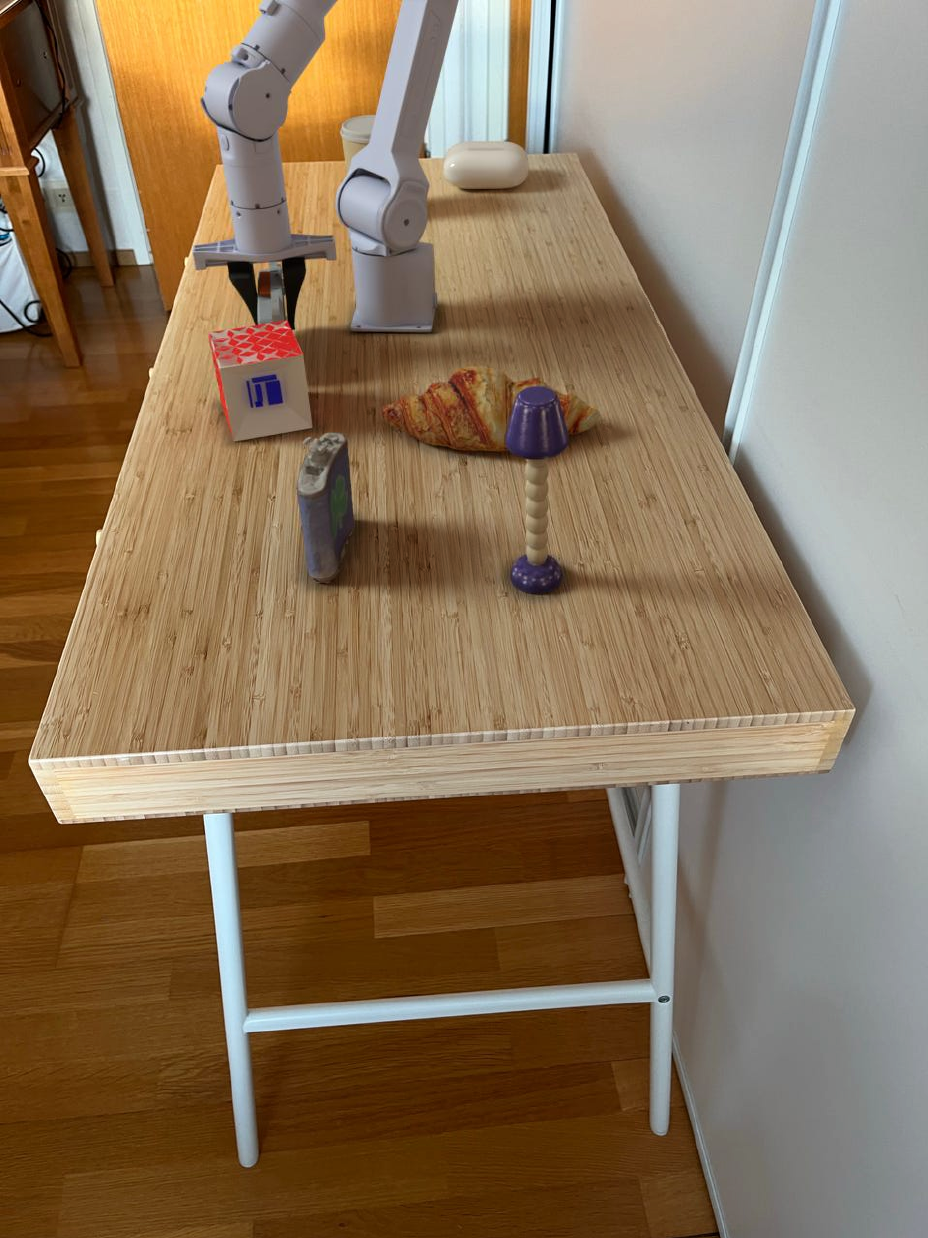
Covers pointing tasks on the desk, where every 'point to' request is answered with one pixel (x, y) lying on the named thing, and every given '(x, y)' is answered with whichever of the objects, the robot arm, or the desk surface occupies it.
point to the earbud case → (485, 165)
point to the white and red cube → (261, 380)
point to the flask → (325, 504)
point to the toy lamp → (536, 481)
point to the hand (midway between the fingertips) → (276, 327)
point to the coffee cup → (356, 136)
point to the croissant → (475, 410)
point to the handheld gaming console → (271, 295)
